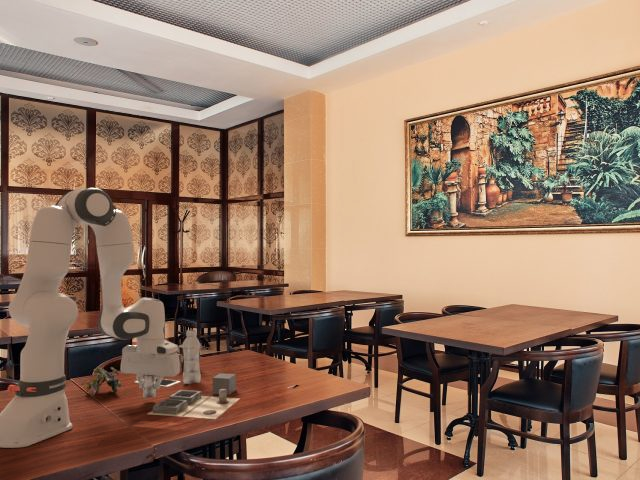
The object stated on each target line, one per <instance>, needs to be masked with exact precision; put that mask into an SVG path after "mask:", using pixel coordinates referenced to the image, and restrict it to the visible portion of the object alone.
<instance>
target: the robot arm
mask: <svg viewBox="0 0 640 480" xmlns="http://www.w3.org/2000/svg"><path fill="white" fill-rule="evenodd" d="M57 200H58V201H57V202H56V203H55V204H54V205H46V206H43V207H40V208H39V209H38V210H37V212H36V213H35V217H34V219H33V222H32V225H31V229H30V234H29V239H28V248H27V255H26V263H25V267H24V268H25V269H24V271H23V276H22V278H21V281H20V284H19V286H18V289H17V291H16V294H15V295H14V296H13V298H12V299H11V300H10V302H9V304H8V313H9V316H10V318H11V319H12V320H13V321H15V323H17V324H18V325H20V326H22V327H25V328H28V334H27V335H28V336H27V339H26V342H25V346H24V347H23V348H22V350H21V351H20V364H19V365H20V371H19V372H20V375H19V377H20V379H19V380H18V382H17V384H10V385H8V387H7V392H8V393H14V394H15V395H14V397H13V398H12V399H11V400H9V401H10V402H8V403H7V404H6V406H5V407H4V409H3V410H1V412H0V448H6V449H7V448H8V449H9V448H11V449H14V448H24V447H29V446H31V445H33V444H37V443H39V442H42V441H43V440H47V439H49V438H51V437H54V436H57V435H59V434H61V433H64V432H67V431H69V430H71V429H73V423H72V422H71V420H70V419H71V418H70V411H69V404H68V403H69V402H68V397H67V396H66V393H65V389H66V386H67V383H66V382H67V379H66V374H65V349H66V343H67V340H68V339H67V338H68V336H69V332H70V329H71V327H72V326H73V325H74V323H75V322H76V320H77V319H78V316H79V308H78V304H77V303H76V301H74V299H72V298H71V297H69V296H67V295H66V294H64V293H61V292H58V291H59V288H60V287H61V286H60V285H61V284H62V281H63V279H64V278H65V277H66V275H67V274H68V272H69V269H70V261H71V255H72V253H71V252H72V244H73V235H74V232H75V230H76V228H77V227H78V226H79V225H81V226H82V225H83V226H90V228H91V229H92V231H93V233H94V236H95V246H96V254H97V259H98V265H99V266H98V267H99V275H100V276H99V278H100V279H99V280H100V296H101V297H100V298H101V307H100V311H99V315H98V318H97V325H98V329H99V331H100V332H101V334H103V335H105V336H106V337H109V338H116V339H119V340H124V341H125V340H126V341H127V340H132V339H135V338H136V344H135V345H133V344H132V345H130V344H126V346H124V347H123V348H122V350H121V355H122V357H121V362H120V372H121V373H122V374H128V375H135V378H136V381H138V382H139V383H138V388H139V389H143V375H155V376H156V378H157V379H158V380H157V382H156V383H154V389H156V390H160V388H161V386H160V383H161V381H162V380H163V379H165V378H164V377H171V378H173V377H176V376H178V375H179V373H180V372H181V358H180V354H179V353H177V352H178V351H179V346H178V344H175V343H173V342H171V341H169V340H166V339H165V333H164V327H165V322H166V320H165V319H166V316H165V315H166V314H165V306H164V303H163V301H161V300H160V299H156V298H152V297H141V298H140V299H138V301H136V302H135V303H133V304H131V305H129V306H127V307H125V306H124V304H123V299H122V298H123V297H122V278H123V277H124V274H125V273H126V271H127V270H129V269H130V267H132V265H133V263H134V260H135V245H134V244H135V243H134V235H133V231H132V227H131V225H130V224H131V223H130V221H129V217H128V216H127V214H126V213H125V212H124V211H122V210H120V209H117V208H116V206H115V204H114V203H113V200H112V198H111V197H110V195H109V194H108V193H107V192H106V191H104V190H102V189H100V188H96V187H88V188H87V187H86V188H77V189H74V190H71V191H68V192H65V193H64V194H63V195H61V196H60V198H58V199H57Z"/></svg>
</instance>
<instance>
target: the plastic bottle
mask: <svg viewBox="0 0 640 480" xmlns="http://www.w3.org/2000/svg"><path fill="white" fill-rule="evenodd" d="M197 333H198V332H197V330H196V329H188V330H186V334H185V336H186V337H185V339H184V340H183V342H182V344H181V345H182V346H183V353H184V371H182V372H183V373H182V382H183V384H184V385H185V384H186V385H192V384H196V383H197V384H199V383H200V382H201V379H202V375H201V370H200V359H199V353H200V350H201V342H200V341H199V338H198V337H197V335H198V334H197Z"/></svg>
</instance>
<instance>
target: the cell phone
mask: <svg viewBox="0 0 640 480" xmlns="http://www.w3.org/2000/svg"><path fill="white" fill-rule="evenodd" d="M157 380H158V379H157V377H156V382H157ZM134 383H135V384H139V382H138V380H136V381H134ZM179 383H181V380H175V379H174V380H173V379H166V378H163V380H162V381H161V383H160V387H162V388H163V387H164V388H169V387H172V386H175V385H176V384H177V385H178V384H179Z"/></svg>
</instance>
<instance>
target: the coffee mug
mask: <svg viewBox="0 0 640 480" xmlns="http://www.w3.org/2000/svg"><path fill="white" fill-rule="evenodd" d="M182 345H183V344H181V345H179V346H178V351H179V359H180V368H181V371H182V372H184V353H183V346H182ZM200 358H201V354H200V352H199V360H200Z"/></svg>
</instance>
